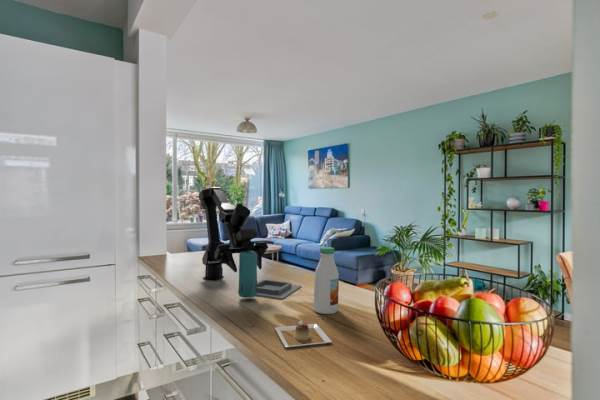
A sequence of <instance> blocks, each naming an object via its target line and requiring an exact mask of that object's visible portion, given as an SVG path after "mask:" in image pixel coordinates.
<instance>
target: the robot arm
mask: <svg viewBox="0 0 600 400" xmlns="http://www.w3.org/2000/svg"><path fill="white" fill-rule="evenodd" d="M198 200H199V202H200V205H201V207H202V208H203V209H204V210H205V211H204V212H205V221H206V231H207V239H208V241H207V242H208V243H207V245H206V247H205V251H204V254H203V256H202V259H201V261H202V262H201V263H202V264H203V265H204V266H205V271H204V272H205V276H203V277H202V279H203V280H212V281H217V280H221V279H222V278H225V277H224V276H225V275H223V265H225V266H227V267H229V268H230V270H232V271H233V272H234V273H238V269H237V268H238V267H237V265H236V262H235V259H234V256H233V254H238V255H240V253H241V252H243V251H254V252H255V253H256V254H257V269H259V270H262V269H263V268H262V267H263V264H262V263H263V260H262V259H263V256H264V255H265V253H266V252H267V250H268V248H269V245H268V243H267V242H266V241H256V242H255V243H254V248H252V249H244V248H242V246H243V242H252V240H253V239H256V238H257V237H258V236H259V235H258V234H259V233H258V231H257V227H254V228H253V227H251V228H250V229H249V228H248V229H244V228H243V227H244V226H246V223H247V222H248V220H249V217H250V216H251V210H250V209H249V208H248V207H247V206H245V205H243V203H237V204H236V205H234V204H231V203H230V201H229V200H228V198H227V197H226V195H225V193H224V192H223V188H222V187H220V186H211V187H208V188H206V189H202V190H201V191H199V193H198ZM217 209H218V211H219V212H218V213H217ZM218 219H219V221H220V223H221V224H226V225H225V230H224V231H225V234H227V235H228V239H229V242H228V243H226V244H225V242H223V241H221V240H220V238H221V237H220V229H219V222H218Z"/></svg>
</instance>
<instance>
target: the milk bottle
mask: <svg viewBox="0 0 600 400" xmlns="http://www.w3.org/2000/svg"><path fill="white" fill-rule="evenodd" d="M335 252H336V251H335V248H334V247H330V246H322V247H320V248H319V254H320V259H319V261H318V264H317V266H316V268H315V271H314V284H313V285H314V286H313V311H314V312H315V313H318V314H323V315H332V314H336V313H337V312H338V310H339V291H340V289H339V288H340V287H339V286H340V285H339V282H340V279H339V270H338V267H337V264H336V262H335V258H334V256H335Z"/></svg>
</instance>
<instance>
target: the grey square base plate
mask: <svg viewBox="0 0 600 400" xmlns="http://www.w3.org/2000/svg"><path fill="white" fill-rule="evenodd" d="M300 288H302V285H298V284H292V282H289V281H288V282H287V281H281V280H274V279H261V280H260V281H257V294H256V296H255V297H263V298H269V299H274V300H275V299H276V300H282V301H283V300H284V299H285V298H287V297H289V296H290V295H291V294H293V293H295V292H296V291H298V290H299V289H300ZM238 292H239V291H237V293H238Z"/></svg>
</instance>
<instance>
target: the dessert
mask: <svg viewBox="0 0 600 400" xmlns="http://www.w3.org/2000/svg"><path fill="white" fill-rule="evenodd" d="M274 329H275V331H276V333H277V335H278V338H279V339H280V340H281V342H282V344H283V347H284V348H286V349H288V348H296V347H307V346H316V345H326V344H331V343H333V341H332V339H330V337H329V336H328V335H327V334H326V333H325V331H323V329H322V328H321V327H320V326H319V324H317V323H311V324H310V323H309V324H308V323H306V322H305V321H303V319H301V320H299V321H298V324H296V325H289V326H277V327H276V326H275V327H274ZM310 329H314V330H315V332H316V334H318V335H319V337H320V338H321V339H322V340H323V341H322V342H315V343H312V342H311V343H305V344H295V345H289V344H288V342H287V341H286V338H285V337H284V335H283V333H282V332H283V331H285V332H286V331H294V334H293V339H295V340H298V341H308V340H310V339H311V338H312V336H311V332H310Z"/></svg>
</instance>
